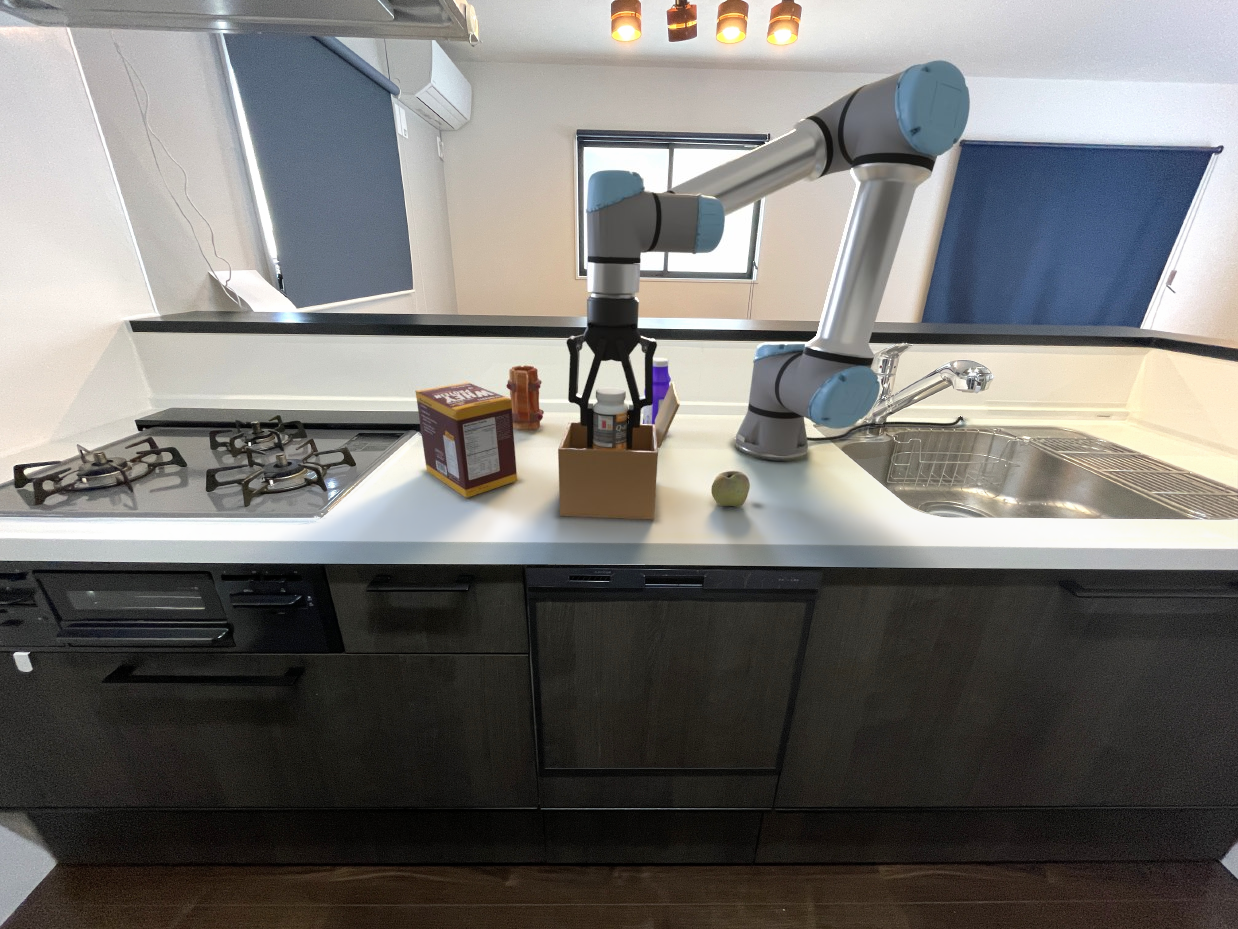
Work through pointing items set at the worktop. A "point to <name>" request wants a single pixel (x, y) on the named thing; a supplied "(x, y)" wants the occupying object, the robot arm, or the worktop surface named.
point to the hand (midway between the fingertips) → (609, 444)
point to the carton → (608, 476)
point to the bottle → (657, 389)
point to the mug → (525, 397)
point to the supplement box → (467, 437)
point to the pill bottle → (610, 419)
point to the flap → (666, 414)
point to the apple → (730, 488)
